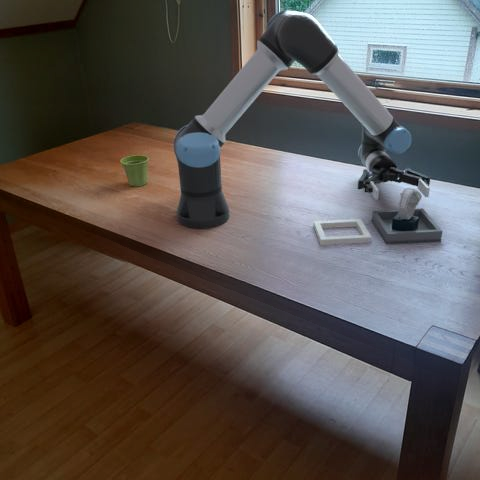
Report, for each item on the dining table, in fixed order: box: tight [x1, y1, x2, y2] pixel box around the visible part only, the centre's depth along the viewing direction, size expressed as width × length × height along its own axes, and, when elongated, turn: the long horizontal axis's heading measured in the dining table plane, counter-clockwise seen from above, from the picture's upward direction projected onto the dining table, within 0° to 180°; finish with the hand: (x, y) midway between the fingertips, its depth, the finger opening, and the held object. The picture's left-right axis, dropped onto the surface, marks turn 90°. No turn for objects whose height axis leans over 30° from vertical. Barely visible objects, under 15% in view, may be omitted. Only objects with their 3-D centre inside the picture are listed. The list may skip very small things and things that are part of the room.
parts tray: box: [371, 208, 443, 245], centre depth 137 cm, size 14×14×3 cm
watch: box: [392, 187, 423, 231], centre depth 135 cm, size 6×8×11 cm
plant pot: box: [120, 154, 150, 188], centre depth 174 cm, size 9×9×9 cm
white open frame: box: [313, 218, 372, 246], centre depth 137 cm, size 13×11×2 cm
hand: (402, 193), depth 138 cm, fingers open, 13 cm apart
